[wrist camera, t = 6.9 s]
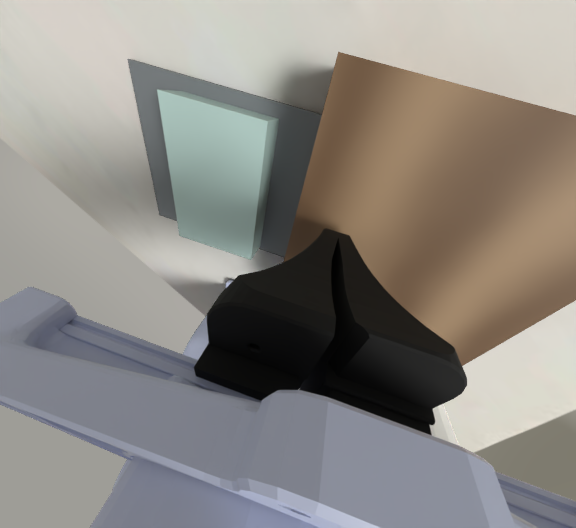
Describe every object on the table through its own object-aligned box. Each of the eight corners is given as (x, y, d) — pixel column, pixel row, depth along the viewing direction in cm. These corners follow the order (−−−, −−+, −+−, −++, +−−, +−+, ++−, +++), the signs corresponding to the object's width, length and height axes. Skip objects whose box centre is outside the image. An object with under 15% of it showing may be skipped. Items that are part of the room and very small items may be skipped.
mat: (162, 213, 18) (159, 215, 18) (132, 59, 12) (127, 58, 12) (288, 256, 18) (287, 258, 18) (326, 115, 11) (325, 116, 11)
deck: (285, 273, 19) (271, 306, 16) (343, 67, 10) (338, 52, 7) (437, 325, 18) (453, 370, 15) (648, 150, 9) (793, 174, 6)
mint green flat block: (251, 259, 16) (260, 246, 18) (267, 121, 10) (279, 118, 12) (179, 235, 16) (194, 224, 18) (156, 89, 11) (182, 91, 12)
